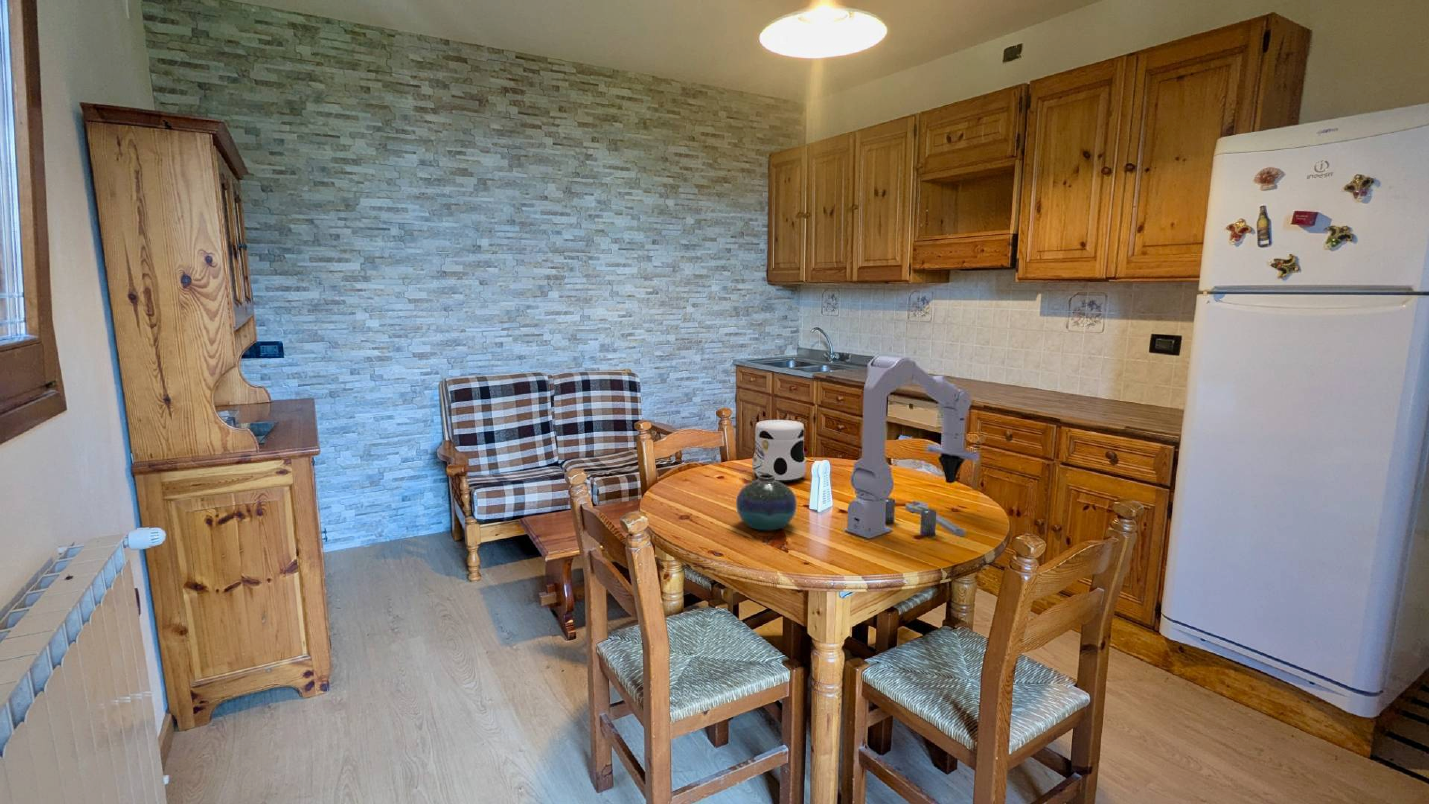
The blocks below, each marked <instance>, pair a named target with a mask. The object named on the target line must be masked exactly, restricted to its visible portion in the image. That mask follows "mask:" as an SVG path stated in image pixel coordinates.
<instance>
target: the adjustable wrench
mask: <svg viewBox="0 0 1429 804" xmlns="http://www.w3.org/2000/svg"><path fill="white" fill-rule="evenodd" d="M904 505H905V510H906V511H908V513H915V514H918V515H921V510H922V509H930V508H929V504H928V503H927V502H923V501H920V500H913V501H912V503H909V502H906V503H905V504H904ZM936 525H938V526H939V527H941V528H943V529H945V530H946V531H948V532H949V533H951V534H953V535H954V536H957V537H965V536H966V530H965V529H963V528H961V527H960V526H958V525H956V524H955V523H953V522H951V521H949V520H948V519H946V518H944V517H943V516H941V515H939V514H938V513H936Z"/></svg>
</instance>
